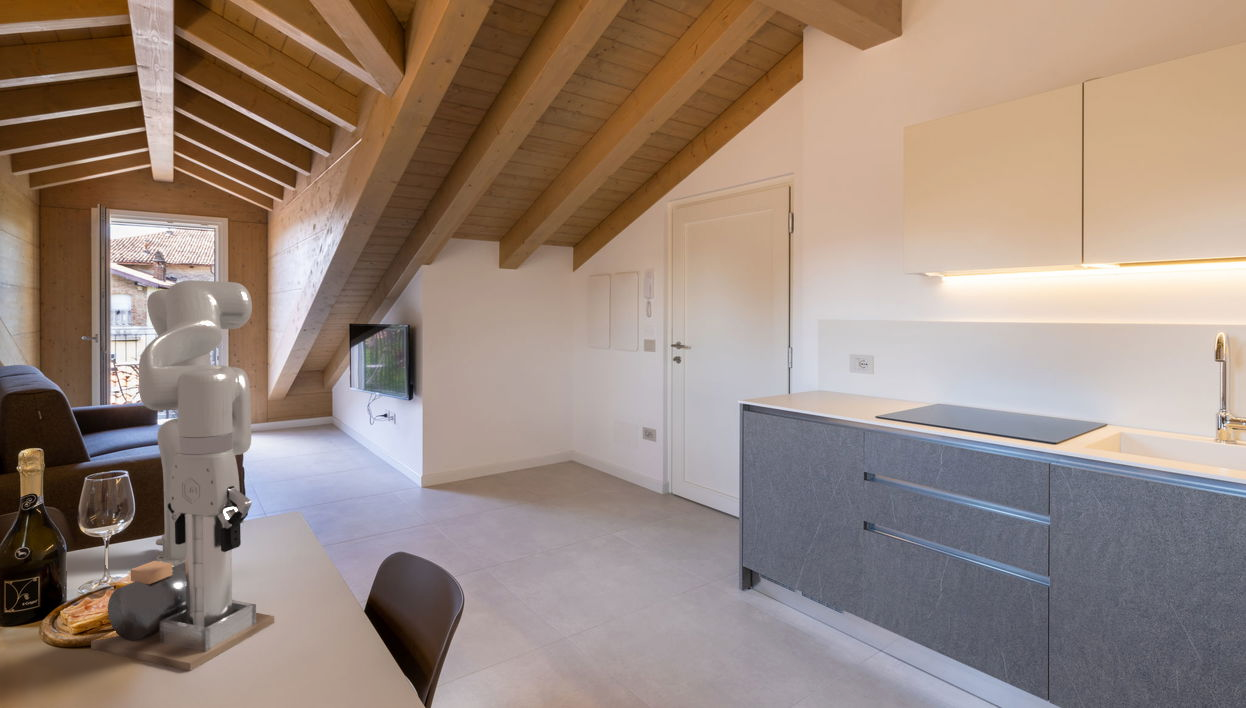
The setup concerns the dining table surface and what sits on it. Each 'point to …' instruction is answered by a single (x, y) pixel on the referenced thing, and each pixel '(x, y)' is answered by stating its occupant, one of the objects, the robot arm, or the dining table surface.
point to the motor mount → (171, 621)
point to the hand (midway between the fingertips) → (208, 545)
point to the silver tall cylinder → (206, 571)
